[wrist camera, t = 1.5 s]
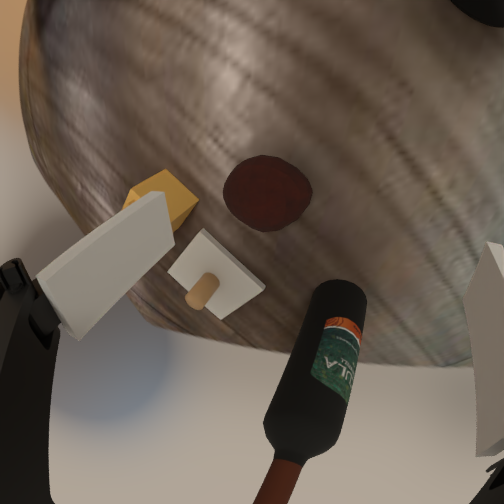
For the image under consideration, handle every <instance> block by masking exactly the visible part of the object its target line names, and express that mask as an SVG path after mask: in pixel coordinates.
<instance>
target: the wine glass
mask: <svg viewBox="0 0 504 504" xmlns="http://www.w3.org/2000/svg"><path fill="white" fill-rule="evenodd" d="M451 1H452V2H453V3H454V4H455V5H456V6H457V7H458V8H459V9H460V10H461V11H463V12H464V13H466V14H467V15H468V16H470V17H472V18H473V19H475V20H477V21H479V22H481V23H484V24H486V25H489V26H494V27H504V0H451Z"/></svg>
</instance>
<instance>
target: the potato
mask: <svg viewBox="0 0 504 504" xmlns="http://www.w3.org/2000/svg"><path fill="white" fill-rule="evenodd" d="M311 196H312V188H311V186H310V183H309V181H308V179H307V178H306V177H305V176H304V175H303V174H302V173H301V172H300V171H299V170H298V169H297V168H296V167H295V166H293V165H291V164H289V163H288V162H286V161H284V160H282V159H281V158H278V157H272V156H266V155H259V156H256V157H252V158H249V159H247V160H244V161H243V162H241V163H240V164H239V165H237V166H236V167H235V168H234V170H233V171H232V172H231V173H230V175H229V176H228V178H227V180H226V182H225V184H224V188H223V198H224V200H225V203H226V205H227V207H228V209H229V210H230V212H231V213H232V214H233V215H234V216H235V217H236V218H238V219H239V220H240V221H242V222H243V223H245V224H246V225H248V226H249V227H251V228H253V229H255V230H258V231H261V232H269V231H278V230H280V229H282V228H284V227H285V226H287V225H289V224H290V223H292V222H294V221H295V220H297V219H298V218H299V217H300V215H301V214H302V213H303V212H304V210H305V209H306V208H307V206H308V205H309V204H310V200H311Z"/></svg>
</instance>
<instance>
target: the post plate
mask: <svg viewBox="0 0 504 504" xmlns="http://www.w3.org/2000/svg"><path fill="white" fill-rule="evenodd" d="M168 273H169V274H170V275H171V276H172V277H173V278H174V279H175V280H176V281H178V282H179V283H180V284H181V285H182V286H183V287H184V288H185V289H186V290H187V291H188V293H187V294H186V296H185V300H186V302H187V303H188V305H189V306H191V307H192V308H194V309H196V310H201V309H203V307H204V306H205V307H206V308H208V309H209V310H210V311H211V312H212V313H213V314H214V315H216V316H217V317H218V318H219V319H220V320H221V319H223V318H224V317H226V316H227V315H229V314H230V313H232V312H233V311H234V310H236V309H237V308H239V307H240V306H242V305H243V304H245V303H246V302H248V301H249V300H251V299H252V298H253V297H255V296H256V295H258V294H259V293H261V292H262V291H263V290H264V289H265V287H266V285H264V284H263V283H262V282H261V281H260V280H259V279H258V278H257V277H256V276H255V275H254V274H252V273H251V272H250V271H249V270H248V269H247V268H246V267H245V266H244V265H243V264H242V263H241V262H239V261H238V260H237V259H236V258H235V257H234V256H233V255H232V254H231V253H230V252H229V251H228V250H226V249H225V248H224V247H223V246H222V245H221V244H220V243H219V242H218V241H217V240H216V239H215V238H214V237H213V236H211V235H210V234H209V233H208V232H207V231H206V230H205V229H204V228H203V229H202V230H201V231H200V232H199V233H198V234H197V235H196V236H195V238H194V239H193V240H192V241H191V243H190V244H189V245H188V246H187V248H186V249H185V250H184V251H183V253H182V254H181V255H180V256H179V258H178V259H177V260H176V261H175V263H174V264H173V265H172V267H171V268H170V269H169V270H168Z"/></svg>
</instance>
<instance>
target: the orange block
mask: <svg viewBox="0 0 504 504" xmlns="http://www.w3.org/2000/svg"><path fill="white" fill-rule="evenodd" d="M151 191H160V192H165V198H166V203H167V208H168V213H169V218H170V223H171V228H172V232H175V231H176V230H177V229H178V228H179V227H180V226H181V224H182V223H183V222H184V220H185V219H186V217H187V216H188V215H189V213H190V212H191V211H192V209H193V208H194V206H195V205H196V204H197V202H198V201H199V199H198V198H197V197H196V196H195V195H194V194H193V193H192V192H190V191H189V190H188V189H187V188H186V187H185V186H184V185H183V184H182V183H181V182H180V181H179V180H178V179H177V178H175V177H174V176H173V175H172V174H171V173H170V172H169V171H168V170H167V169H164V170H162V171H161V172H159V173H157V174H155V175H153V176H152V177H150V178H148V179H146V180H145V181H143V182H141V183H139V184H138V185H136V186H134V187H133V188H131V190H130V192H129V194H128V197H127V199H126V201H125V203H124V206H123V208H122V210H123V209H125V208H126V207H128V206H129V205H131V204H132V203H134V202H135V201H137V200H138V199H140V198H141V197H143V196H144V195H146V194H148V193H149V192H151ZM122 210H121V211H122Z"/></svg>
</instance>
